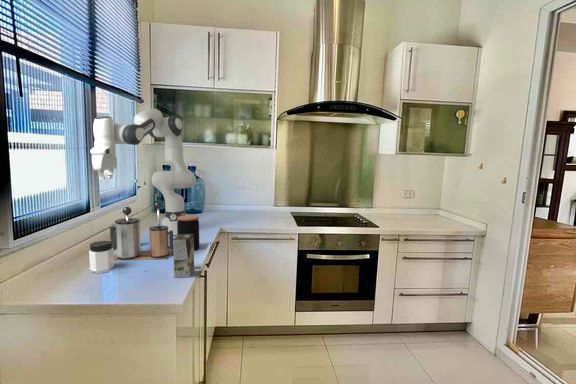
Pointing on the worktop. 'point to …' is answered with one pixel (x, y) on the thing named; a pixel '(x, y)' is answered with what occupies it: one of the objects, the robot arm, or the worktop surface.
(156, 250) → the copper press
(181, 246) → the coffee box
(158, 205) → the ball knob plunger
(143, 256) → the board
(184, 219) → the coffee jar
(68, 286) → the worktop surface
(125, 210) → the steel plunger
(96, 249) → the jar
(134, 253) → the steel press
